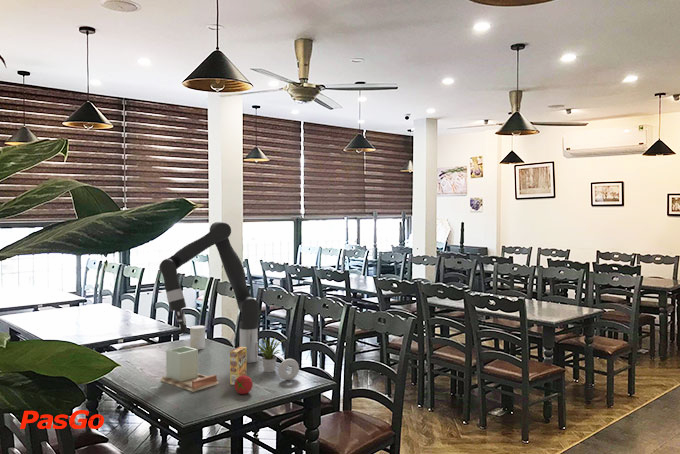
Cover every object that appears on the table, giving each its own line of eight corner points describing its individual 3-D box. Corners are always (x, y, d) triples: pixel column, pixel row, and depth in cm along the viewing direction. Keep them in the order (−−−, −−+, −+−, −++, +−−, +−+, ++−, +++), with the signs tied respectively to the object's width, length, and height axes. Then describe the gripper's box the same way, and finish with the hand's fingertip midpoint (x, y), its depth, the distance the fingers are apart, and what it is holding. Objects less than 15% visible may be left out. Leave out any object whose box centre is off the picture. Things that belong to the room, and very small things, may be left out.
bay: (160, 380, 249) (160, 372, 249) (186, 373, 260) (186, 365, 260) (193, 391, 234) (193, 382, 234) (218, 383, 245) (218, 375, 245)
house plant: (282, 365, 277) (282, 333, 276) (288, 372, 263) (289, 339, 263) (254, 367, 272) (254, 334, 272) (259, 375, 259) (259, 341, 259)
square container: (166, 377, 250) (166, 350, 249) (184, 372, 258) (184, 346, 257) (179, 382, 244) (179, 353, 243) (197, 376, 252) (197, 349, 251)
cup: (187, 348, 308) (187, 327, 308) (196, 345, 316) (196, 325, 315) (199, 350, 305) (199, 328, 305) (207, 346, 312) (207, 326, 312)
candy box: (237, 385, 243) (237, 351, 243) (229, 384, 244) (229, 350, 244) (247, 379, 252) (247, 347, 251) (238, 379, 253) (238, 346, 252)
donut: (279, 382, 248) (280, 360, 248) (277, 380, 251) (277, 358, 251) (300, 379, 253) (300, 358, 252) (297, 377, 256) (297, 356, 255)
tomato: (248, 370, 237) (238, 371, 230) (258, 384, 233) (248, 385, 227) (237, 383, 238) (226, 385, 231) (247, 397, 235) (237, 399, 228)
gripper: (182, 297, 255) (191, 330, 254) (185, 297, 269) (193, 329, 267) (166, 301, 253) (175, 335, 252) (169, 302, 267) (178, 334, 266)
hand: (184, 332), depth 260 cm, fingers open, 8 cm apart
